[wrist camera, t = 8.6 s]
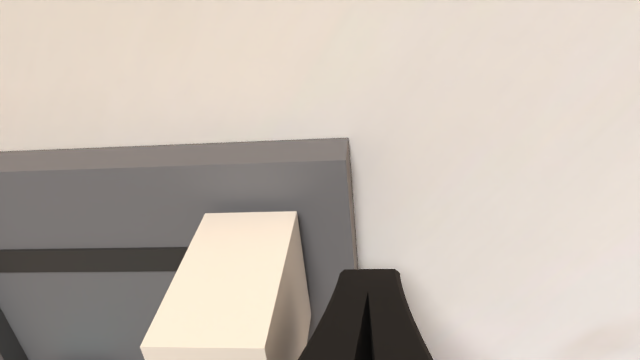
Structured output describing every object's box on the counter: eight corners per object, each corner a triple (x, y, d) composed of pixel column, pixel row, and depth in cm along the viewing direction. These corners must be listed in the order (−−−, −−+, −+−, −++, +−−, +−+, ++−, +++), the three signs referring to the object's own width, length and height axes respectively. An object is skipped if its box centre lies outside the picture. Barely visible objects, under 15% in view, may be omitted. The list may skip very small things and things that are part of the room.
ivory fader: (311, 314, 15) (288, 463, 12) (230, 314, 16) (183, 459, 12) (296, 210, 14) (264, 348, 10) (204, 213, 14) (140, 346, 10)
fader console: (371, 453, 21) (370, 505, 20) (89, 442, 23) (65, 490, 21) (348, 137, 14) (343, 176, 12) (-62, 154, 16) (-115, 191, 14)
